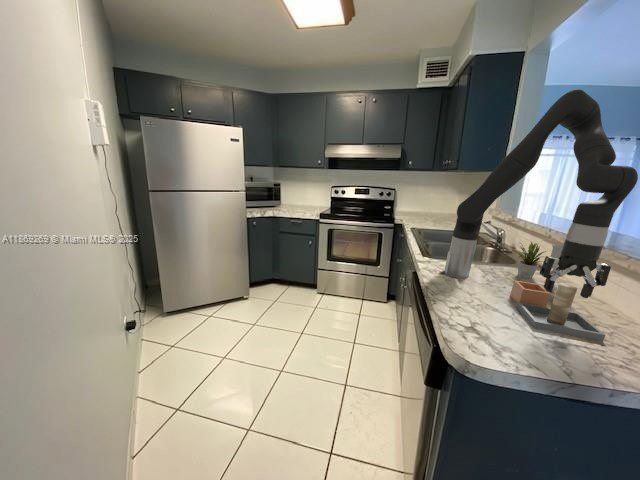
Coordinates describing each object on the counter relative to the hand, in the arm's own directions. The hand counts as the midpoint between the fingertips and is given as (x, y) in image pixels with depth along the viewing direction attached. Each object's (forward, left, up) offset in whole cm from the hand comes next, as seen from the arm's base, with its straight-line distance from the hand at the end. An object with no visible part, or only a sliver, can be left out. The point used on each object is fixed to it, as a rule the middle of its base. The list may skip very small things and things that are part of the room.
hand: (565, 294), depth 75 cm
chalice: (+12, +31, -11) cm, 35 cm away
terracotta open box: (-3, +12, -11) cm, 16 cm away
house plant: (+8, +46, -11) cm, 48 cm away
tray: (0, 0, -11) cm, 11 cm away
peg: (0, 0, -10) cm, 10 cm away
